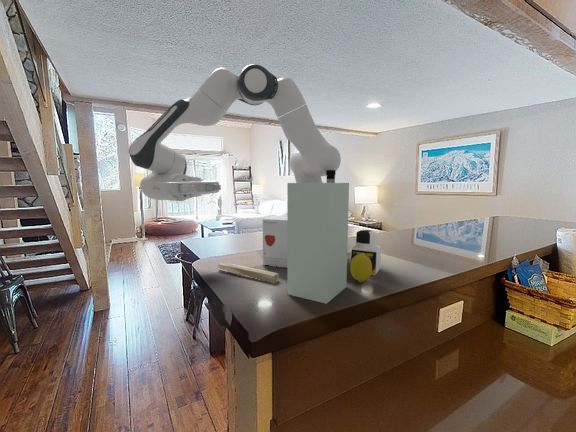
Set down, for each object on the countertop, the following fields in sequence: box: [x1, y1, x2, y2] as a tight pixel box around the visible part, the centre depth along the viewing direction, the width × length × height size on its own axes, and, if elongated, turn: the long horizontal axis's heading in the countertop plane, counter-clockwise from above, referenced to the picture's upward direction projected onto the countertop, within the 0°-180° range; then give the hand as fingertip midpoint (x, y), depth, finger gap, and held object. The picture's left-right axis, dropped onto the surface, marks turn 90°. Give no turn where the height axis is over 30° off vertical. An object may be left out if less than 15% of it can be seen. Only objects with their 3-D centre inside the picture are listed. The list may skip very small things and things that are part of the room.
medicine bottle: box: [351, 229, 382, 276], centre depth 86 cm, size 7×7×12 cm
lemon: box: [349, 253, 372, 283], centre depth 76 cm, size 6×6×8 cm
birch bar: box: [217, 261, 280, 284], centre depth 82 cm, size 2×20×2 cm, turn 57°
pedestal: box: [286, 182, 350, 305], centre depth 69 cm, size 12×10×26 cm
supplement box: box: [262, 215, 287, 269], centre depth 94 cm, size 9×9×15 cm
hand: (207, 187), depth 88 cm, fingers open, 8 cm apart
